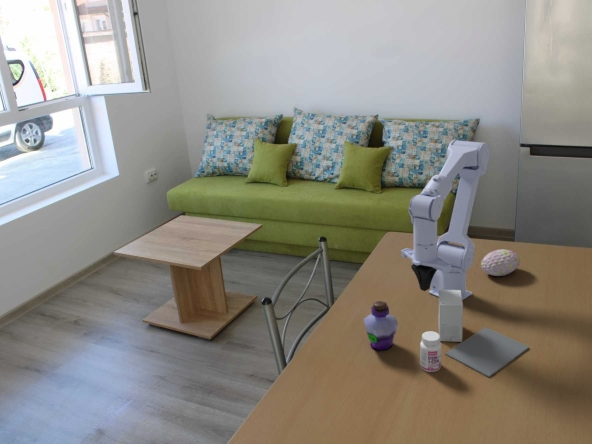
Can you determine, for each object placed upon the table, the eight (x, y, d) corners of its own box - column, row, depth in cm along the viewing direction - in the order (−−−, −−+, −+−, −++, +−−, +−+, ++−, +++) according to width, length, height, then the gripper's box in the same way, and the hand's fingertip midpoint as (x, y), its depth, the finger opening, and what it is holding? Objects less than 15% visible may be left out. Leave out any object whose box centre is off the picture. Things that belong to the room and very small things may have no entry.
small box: (462, 342, 136) (463, 305, 132) (438, 341, 137) (439, 305, 133) (460, 325, 143) (461, 289, 139) (438, 324, 145) (438, 288, 141)
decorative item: (472, 262, 165) (494, 236, 163) (483, 269, 174) (504, 245, 172) (495, 281, 159) (518, 255, 158) (505, 287, 168) (528, 262, 166)
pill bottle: (429, 375, 126) (429, 344, 123) (415, 364, 130) (415, 334, 127) (445, 368, 128) (446, 337, 124) (431, 357, 132) (431, 327, 128)
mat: (445, 354, 132) (445, 353, 132) (485, 328, 141) (485, 327, 141) (488, 377, 123) (488, 376, 123) (528, 348, 132) (529, 346, 132)
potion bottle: (360, 352, 136) (357, 310, 132) (368, 333, 143) (366, 292, 139) (394, 357, 133) (393, 314, 128) (401, 337, 140) (401, 296, 136)
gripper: (392, 238, 141) (393, 285, 146) (437, 254, 130) (437, 304, 135) (411, 230, 145) (411, 276, 150) (456, 245, 134) (455, 294, 139)
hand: (425, 289), depth 143 cm, fingers closed
